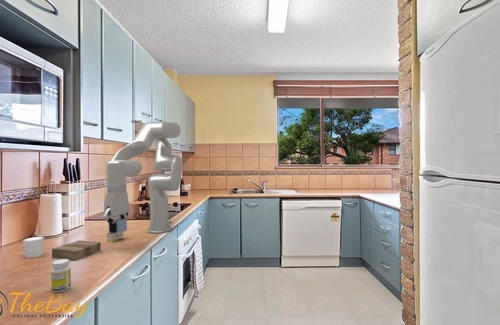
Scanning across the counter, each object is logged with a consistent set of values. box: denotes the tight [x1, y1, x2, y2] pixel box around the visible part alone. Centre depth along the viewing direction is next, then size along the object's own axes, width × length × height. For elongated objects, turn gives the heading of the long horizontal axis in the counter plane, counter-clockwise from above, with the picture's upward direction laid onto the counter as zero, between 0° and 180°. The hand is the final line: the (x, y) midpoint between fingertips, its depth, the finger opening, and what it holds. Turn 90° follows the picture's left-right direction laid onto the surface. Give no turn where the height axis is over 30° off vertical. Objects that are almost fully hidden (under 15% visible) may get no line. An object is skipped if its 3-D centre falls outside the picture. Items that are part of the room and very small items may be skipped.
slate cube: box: [108, 217, 128, 233], centre depth 118 cm, size 5×5×5 cm
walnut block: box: [51, 240, 102, 262], centre depth 112 cm, size 12×12×4 cm
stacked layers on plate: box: [105, 229, 125, 243], centre depth 132 cm, size 10×9×6 cm
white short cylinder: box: [22, 236, 45, 259], centre depth 111 cm, size 7×7×7 cm
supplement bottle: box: [50, 259, 72, 293], centre depth 81 cm, size 5×5×8 cm
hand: (118, 230), depth 118 cm, fingers closed on slate cube, 5 cm apart
